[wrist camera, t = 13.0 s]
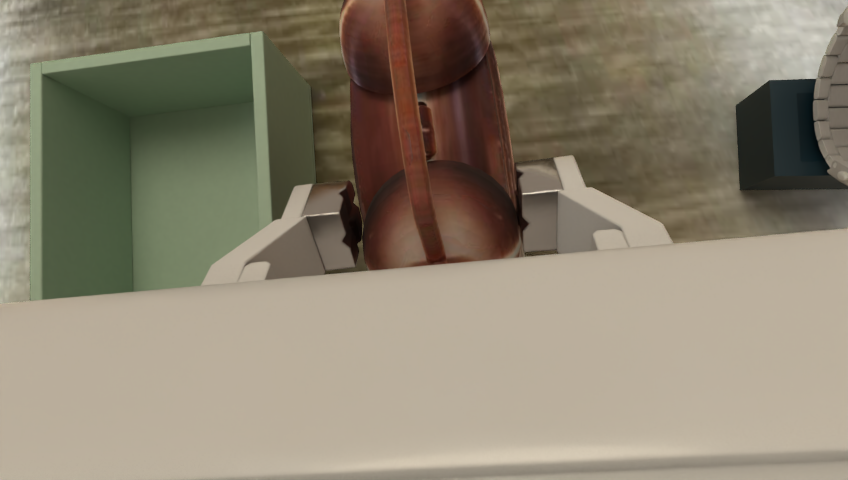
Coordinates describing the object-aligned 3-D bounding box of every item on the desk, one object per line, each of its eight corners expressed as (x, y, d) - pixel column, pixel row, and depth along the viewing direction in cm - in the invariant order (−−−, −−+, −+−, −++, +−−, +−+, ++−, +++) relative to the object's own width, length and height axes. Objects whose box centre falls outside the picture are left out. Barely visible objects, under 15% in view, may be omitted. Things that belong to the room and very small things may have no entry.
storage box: (128, 378, 28) (28, 402, 22) (123, 110, 30) (29, 63, 24) (327, 364, 27) (280, 386, 21) (310, 86, 29) (262, 30, 23)
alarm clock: (519, 307, 25) (558, 332, 10) (420, 320, 25) (315, 361, 10) (486, 89, 26) (477, -178, 11) (392, 106, 26) (264, -128, 12)
